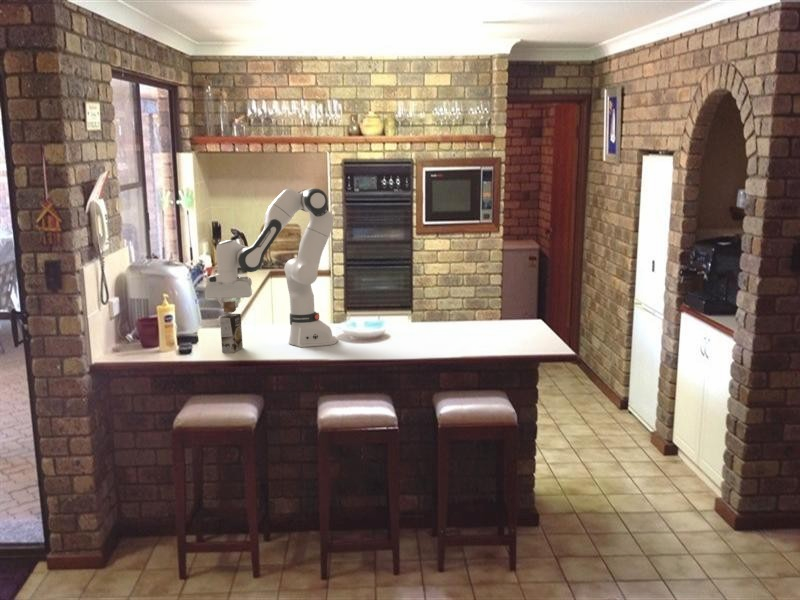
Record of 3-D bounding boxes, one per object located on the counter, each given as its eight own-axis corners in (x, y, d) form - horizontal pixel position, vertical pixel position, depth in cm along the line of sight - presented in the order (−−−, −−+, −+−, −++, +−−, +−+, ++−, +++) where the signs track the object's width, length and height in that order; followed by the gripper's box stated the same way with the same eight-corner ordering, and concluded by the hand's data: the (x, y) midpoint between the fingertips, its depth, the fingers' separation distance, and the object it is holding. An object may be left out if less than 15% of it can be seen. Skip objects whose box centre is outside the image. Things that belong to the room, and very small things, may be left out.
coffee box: (235, 353, 329) (232, 317, 326) (221, 352, 330) (219, 317, 327) (243, 347, 338) (241, 313, 335) (230, 347, 339) (227, 313, 336)
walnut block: (236, 309, 333) (235, 300, 332) (233, 311, 328) (233, 302, 327) (225, 310, 333) (225, 300, 332) (223, 312, 328) (223, 302, 327)
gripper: (252, 275, 331) (254, 305, 333) (206, 276, 331) (208, 306, 333) (249, 277, 325) (251, 308, 327) (203, 278, 324) (205, 309, 327)
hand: (229, 307), depth 330 cm, fingers closed on walnut block, 4 cm apart
